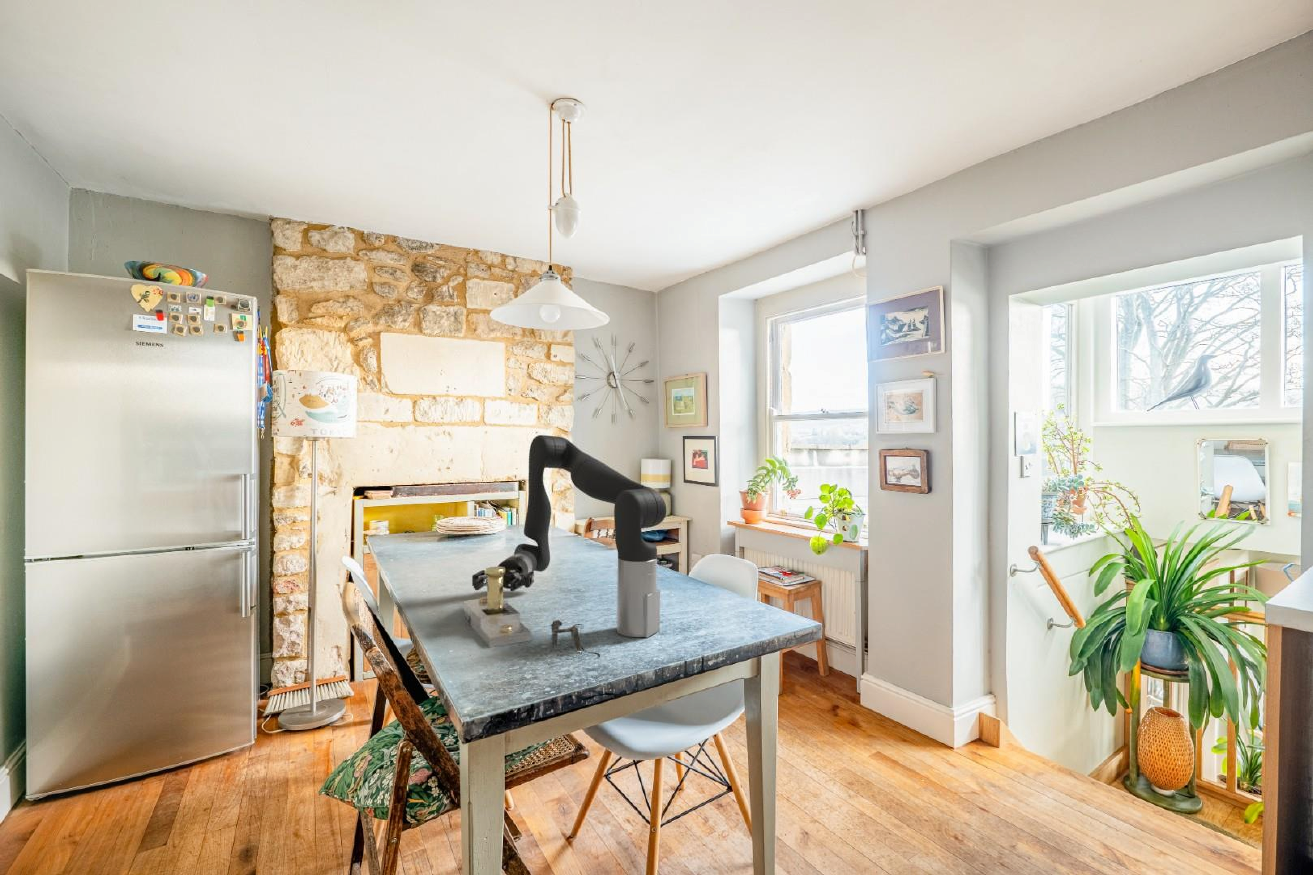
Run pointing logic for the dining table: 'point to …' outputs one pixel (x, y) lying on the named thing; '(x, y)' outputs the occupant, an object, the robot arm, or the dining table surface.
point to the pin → (495, 590)
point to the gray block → (496, 623)
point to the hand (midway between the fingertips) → (494, 586)
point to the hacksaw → (575, 636)
